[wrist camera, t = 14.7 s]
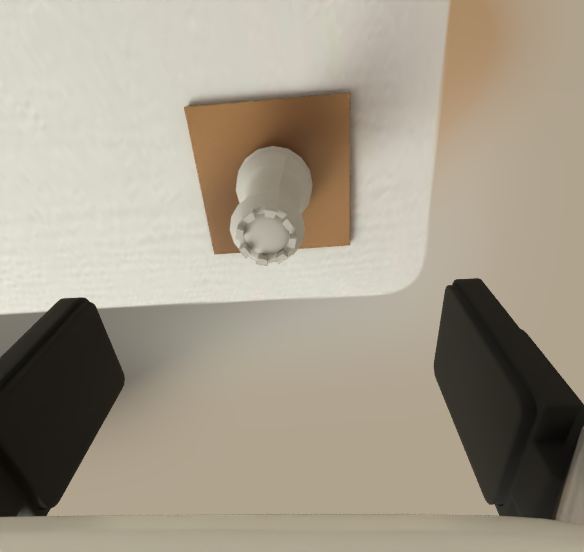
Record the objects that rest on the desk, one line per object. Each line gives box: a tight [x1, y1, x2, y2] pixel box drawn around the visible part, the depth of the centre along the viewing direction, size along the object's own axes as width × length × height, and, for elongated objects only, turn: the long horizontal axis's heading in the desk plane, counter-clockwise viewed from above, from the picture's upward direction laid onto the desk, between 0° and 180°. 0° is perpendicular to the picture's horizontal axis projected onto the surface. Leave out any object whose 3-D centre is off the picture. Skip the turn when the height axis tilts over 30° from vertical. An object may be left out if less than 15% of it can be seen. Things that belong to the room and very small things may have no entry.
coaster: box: [184, 93, 350, 254], centre depth 22 cm, size 9×9×1 cm
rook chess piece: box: [230, 146, 313, 266], centre depth 19 cm, size 4×4×8 cm
